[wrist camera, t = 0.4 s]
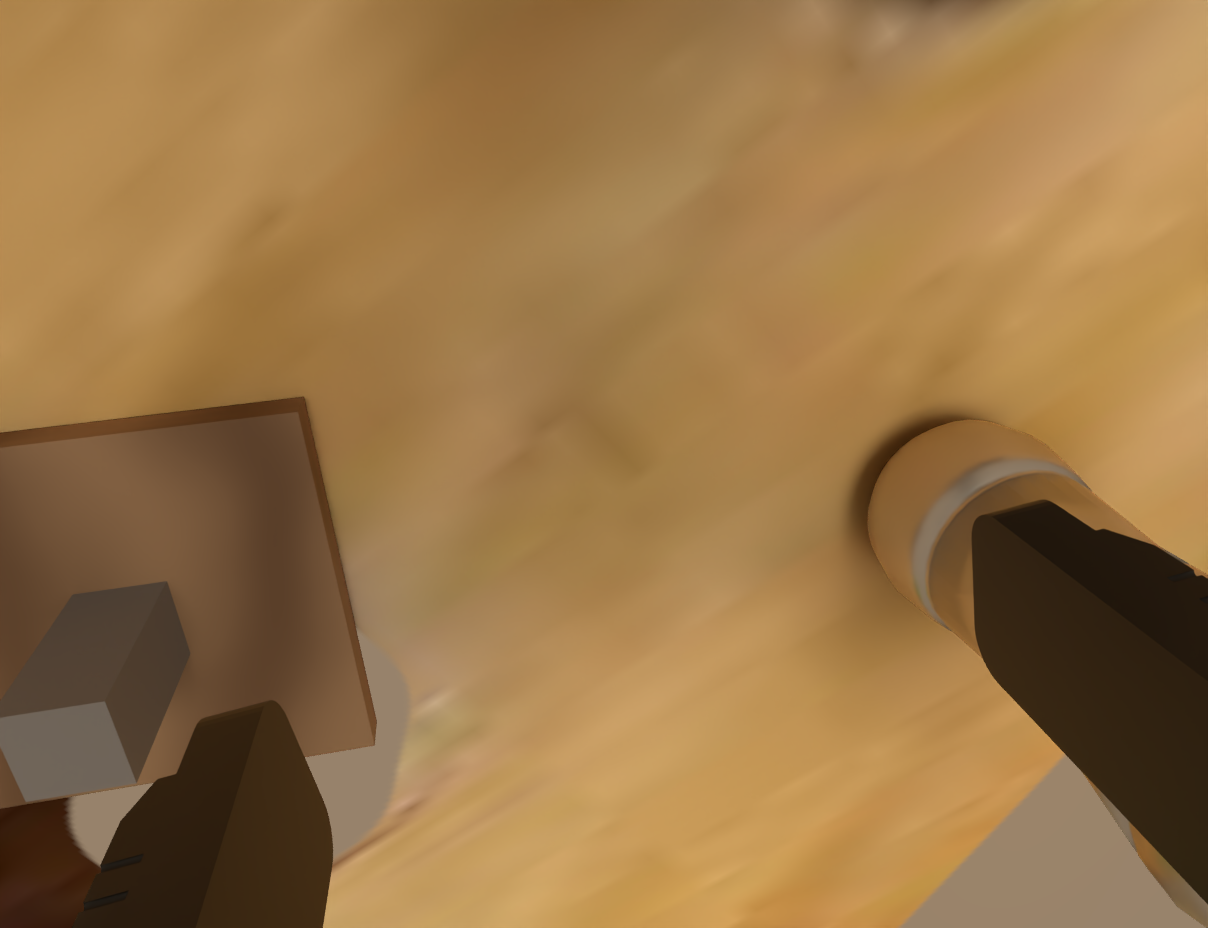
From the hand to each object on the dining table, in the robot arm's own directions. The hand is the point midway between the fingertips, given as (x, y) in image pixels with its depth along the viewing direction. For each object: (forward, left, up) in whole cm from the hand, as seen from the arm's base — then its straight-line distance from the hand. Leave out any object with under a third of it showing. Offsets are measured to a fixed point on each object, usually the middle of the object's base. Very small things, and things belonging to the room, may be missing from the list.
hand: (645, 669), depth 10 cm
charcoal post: (+8, -13, -16) cm, 22 cm away
